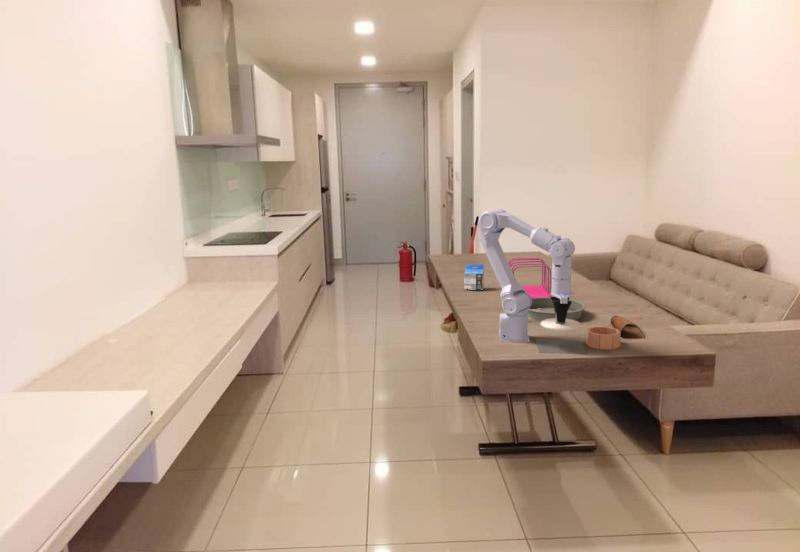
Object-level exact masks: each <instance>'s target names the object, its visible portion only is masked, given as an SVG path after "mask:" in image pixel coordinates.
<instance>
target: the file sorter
mask: <svg viewBox="0 0 800 552" xmlns="http://www.w3.org/2000/svg"><path fill="white" fill-rule="evenodd" d="M508 263H509V265H510V268H511V270H512V272H513V274H514V275H515V271H516V270H517V269H519V268H541V285H522V286H523V287H524V289H525V291H526V292H527V293H528V294H529V295H530V296H531V299H532V298H542V297H553V296H552V295H551V291H552V268H550V267H549V266H548V264H546V262H545V261H544V260H543V259H541V258H539V257H513V258H511V259H510V260H509V261H508Z"/></svg>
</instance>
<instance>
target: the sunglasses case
mask: <svg viewBox="0 0 800 552" xmlns="http://www.w3.org/2000/svg"><path fill="white" fill-rule="evenodd" d="M610 324H611V325H612V327H613V328H615V329H618V330H619V331H620V332H621V336H620V338H622V339H630V340H631V339H633V340H634V339H636V340H637V339H638V340H641V339H642V340H645V336H644V334H643V333H642V332H641V330H640V328H638V325H637V324H636V323H634V322H633V321H632V320H629V319H627V318H626V317H623V316H620V315H613V316H612V317H611V318H610Z"/></svg>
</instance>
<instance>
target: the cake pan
mask: <svg viewBox="0 0 800 552" xmlns="http://www.w3.org/2000/svg"><path fill="white" fill-rule="evenodd" d="M568 301H571V302H572V303H571V305H570V307H569V309H568V312H567V316H566V319H571V320H575V321H578V319H580V318H581V317H582V316H581V315H582V312H583V311H584V310H585V309H586V308H587V307H586V304H584V303H583V302H581V301H579V300H575V299H571V298H569V300H568ZM538 308H541V309H539V310H540V311H536V310H532V309H538ZM528 317H529V318H532V319H531V320H533V319H535V320H534V321H537V320H539V321H538V322H541V321H542V320H545V319H551V318H556V316H555V310H554V305H553V302H552V300H551V297H542V298H532V304H531V306H530V308H528ZM529 318H528V319H529Z"/></svg>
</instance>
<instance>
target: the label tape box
mask: <svg viewBox="0 0 800 552" xmlns="http://www.w3.org/2000/svg"><path fill="white" fill-rule="evenodd" d="M484 272H485V269H484V264H480V263H479V264H477V263H475V264H474V263H465V271H464V274H463V277H464V278H463V281H464V282H463V284H464V285H463V288H464V289H470V290H483V289H484V290H485V287H484V286H485V284H484V283H485V277H484V276H485V275H484ZM464 289H463V290H464ZM484 290H483V291H484Z"/></svg>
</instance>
